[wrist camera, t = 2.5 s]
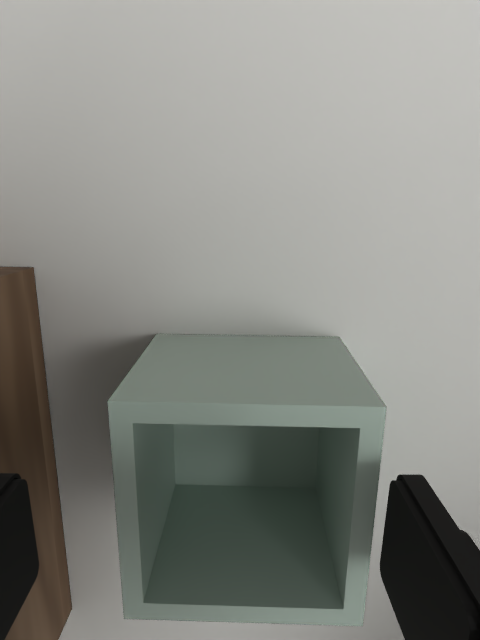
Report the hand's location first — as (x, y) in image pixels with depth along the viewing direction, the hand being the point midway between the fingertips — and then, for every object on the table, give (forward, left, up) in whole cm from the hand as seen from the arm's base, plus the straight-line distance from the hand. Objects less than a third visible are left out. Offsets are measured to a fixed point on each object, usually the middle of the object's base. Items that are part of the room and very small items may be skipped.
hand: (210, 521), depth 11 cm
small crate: (-1, 0, -7) cm, 7 cm away
